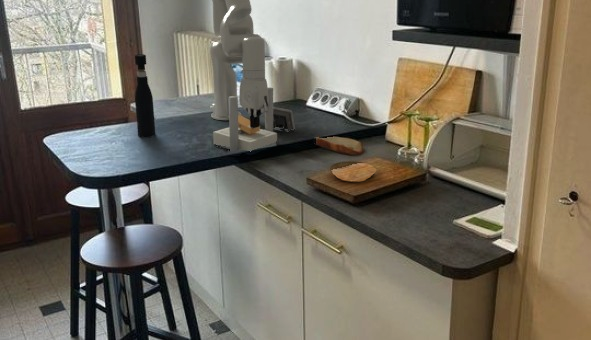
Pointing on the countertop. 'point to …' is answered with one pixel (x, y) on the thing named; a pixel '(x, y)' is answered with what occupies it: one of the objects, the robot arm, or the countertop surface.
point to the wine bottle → (143, 101)
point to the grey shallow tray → (245, 138)
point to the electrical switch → (283, 118)
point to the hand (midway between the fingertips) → (255, 126)
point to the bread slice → (341, 145)
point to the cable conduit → (233, 123)
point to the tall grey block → (269, 112)
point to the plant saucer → (342, 164)
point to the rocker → (246, 125)
